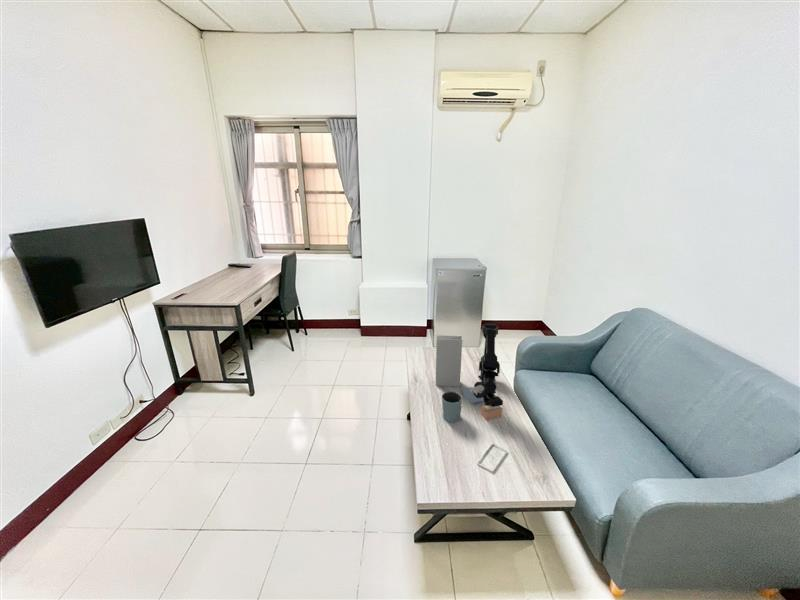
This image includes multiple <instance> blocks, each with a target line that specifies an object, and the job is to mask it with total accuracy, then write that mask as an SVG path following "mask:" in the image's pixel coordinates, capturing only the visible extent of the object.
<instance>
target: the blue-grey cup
mask: <svg viewBox="0 0 800 600" xmlns="http://www.w3.org/2000/svg"><path fill="white" fill-rule="evenodd" d="M462 402H463V396H462V395H461V393H459V392H457V391H453V390H451V391H445V392H444V393H442V395H441V404H442V417H443V419H444V421H446V422H448V423H457V422H459V421H460V419H461V412H462Z"/></svg>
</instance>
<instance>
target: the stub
mask: <svg viewBox="0 0 800 600" xmlns="http://www.w3.org/2000/svg"><path fill="white" fill-rule="evenodd" d="M480 415H481V417H483V419H484V420H485V421H490V420H494V419H499V418H502V417H503V408H502V406H501V405H500V406H495V407H492V406H491V405H490V404H489V405H485V404H484V405H481V409H480Z"/></svg>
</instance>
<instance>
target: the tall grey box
mask: <svg viewBox="0 0 800 600" xmlns="http://www.w3.org/2000/svg"><path fill="white" fill-rule="evenodd" d="M435 350H436V356H435V359H436V360H435V386H438V387H439V386H441V387H442V386H443V387H444V386H445V387H461V369H462V355H463V354H462V353H463V352H462V351H463V339H462V335H443V334H442V335H440V334H439V335H438V334H436V349H435Z"/></svg>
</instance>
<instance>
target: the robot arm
mask: <svg viewBox="0 0 800 600" xmlns="http://www.w3.org/2000/svg"><path fill="white" fill-rule="evenodd" d="M481 332H482V335H483V337H484V348H483V349H484V350H483V355H482V356H481V357H480V361H479V362H478V372H480V375H478V376H477V377H478V378H479V380H480V381H478V382H475V383H474V385H473V387H474V388H472V392H473V395H474V396H475V397H476V398H482V397H483V399H484V402H483V403H484V405H489V404H490V405H491V406H492V407H495V406H500V407H501V406H503V404H504V400H503V399H501V397H500V396H499V395H496V390H497V379H496V377H499V374H500V372H501V369H500V367H501V366H500V362H499V360H498V355H496V352H495V351H496V348H495V347H496V341H495V340H496V337H497V335H499V326H498V325H497V323H494V324H493V323H484V324H483V325H482V326H481Z"/></svg>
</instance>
